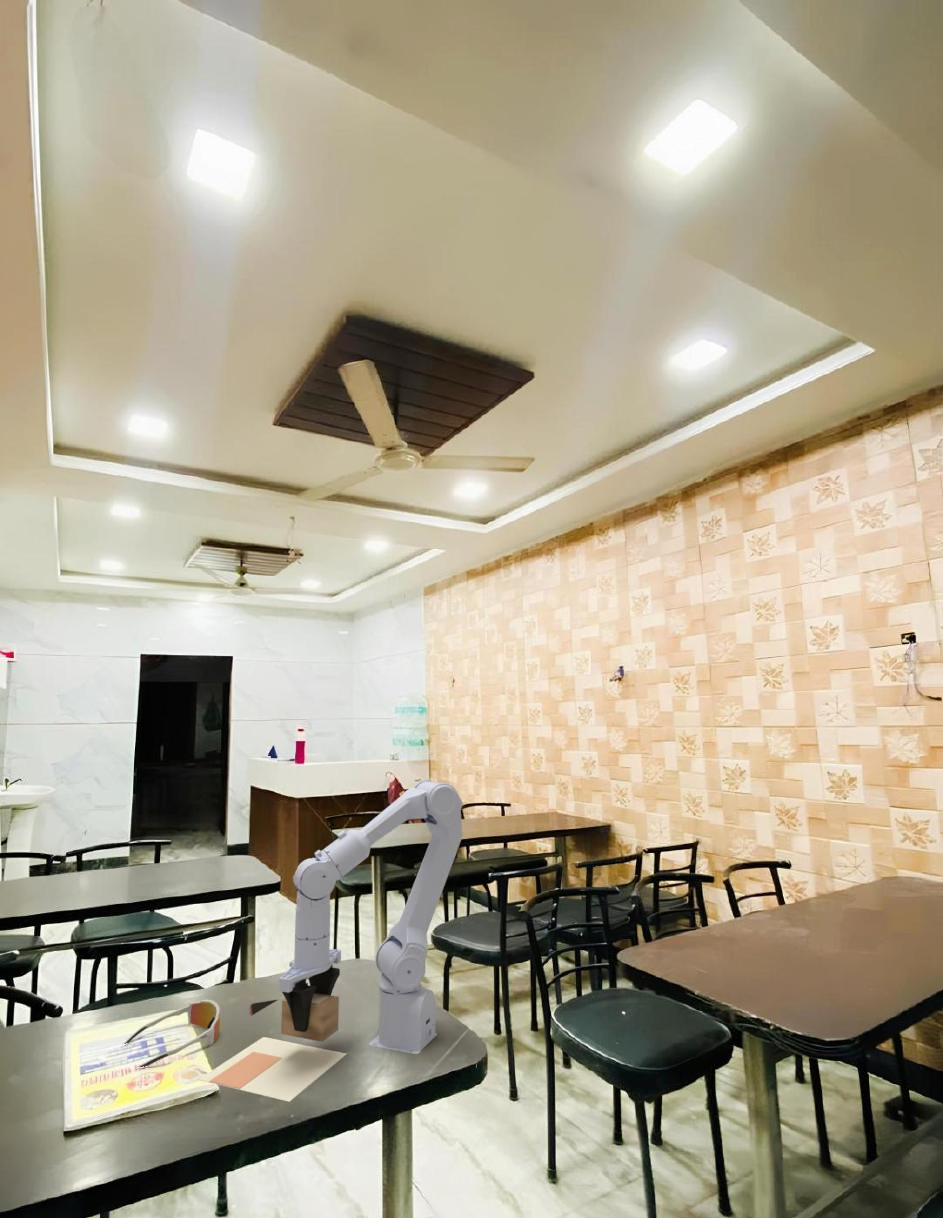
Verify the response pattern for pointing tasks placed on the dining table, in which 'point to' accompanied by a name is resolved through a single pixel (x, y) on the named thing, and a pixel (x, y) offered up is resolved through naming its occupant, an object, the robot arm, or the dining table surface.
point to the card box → (314, 1018)
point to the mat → (274, 1068)
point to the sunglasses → (198, 1015)
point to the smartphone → (260, 1006)
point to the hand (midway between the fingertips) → (310, 1023)
